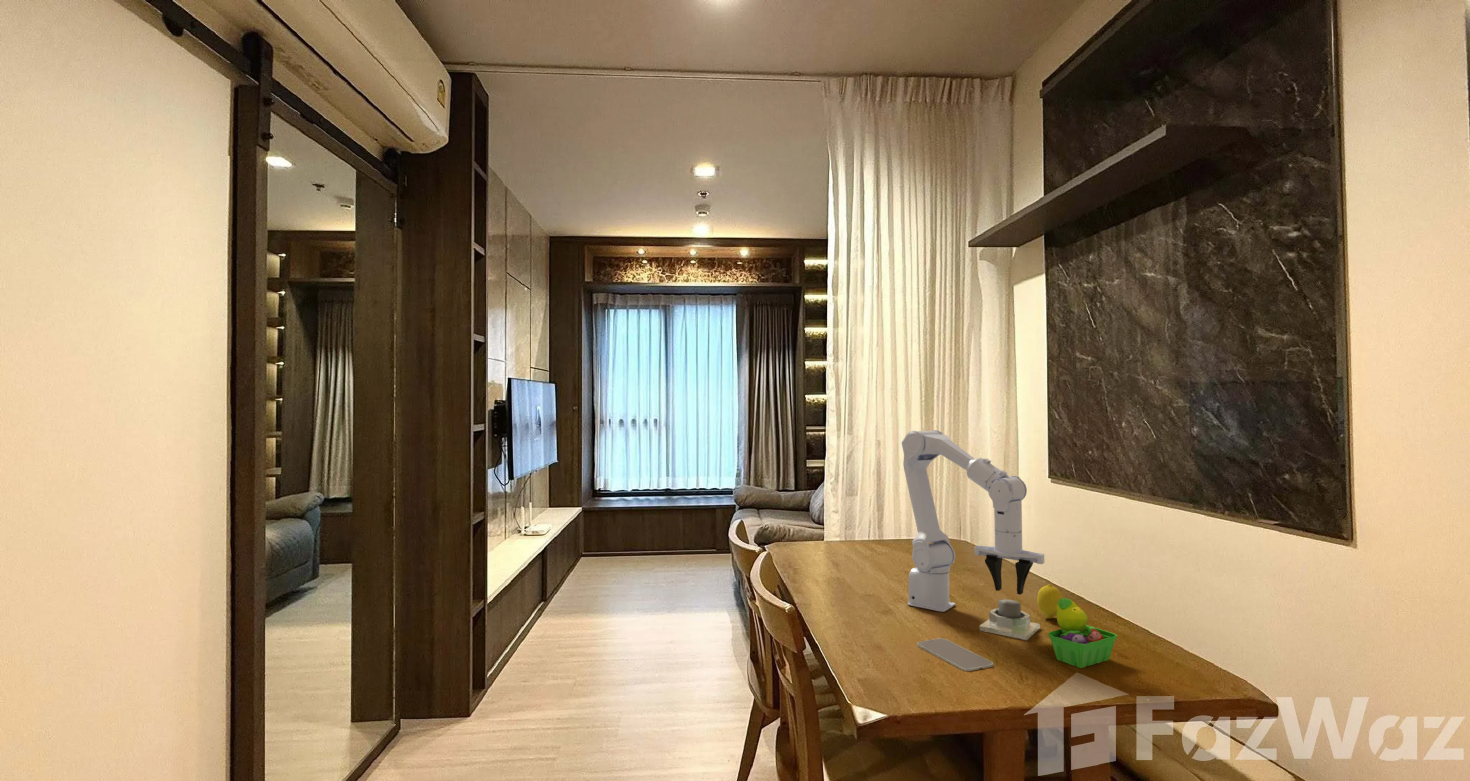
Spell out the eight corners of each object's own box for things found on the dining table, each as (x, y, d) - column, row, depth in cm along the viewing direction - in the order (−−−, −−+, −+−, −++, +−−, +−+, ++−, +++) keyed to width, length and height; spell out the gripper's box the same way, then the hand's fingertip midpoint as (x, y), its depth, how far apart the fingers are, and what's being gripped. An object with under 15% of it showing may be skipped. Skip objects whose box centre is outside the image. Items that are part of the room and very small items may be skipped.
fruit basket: (1082, 672, 121) (1081, 611, 121) (1041, 656, 128) (1040, 599, 129) (1119, 661, 126) (1118, 603, 126) (1077, 646, 134) (1076, 591, 134)
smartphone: (965, 669, 121) (914, 642, 135) (965, 674, 121) (914, 646, 135) (995, 663, 124) (943, 637, 138) (996, 668, 124) (943, 641, 137)
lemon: (1057, 615, 154) (1057, 581, 155) (1067, 622, 149) (1066, 587, 149) (1033, 614, 155) (1033, 580, 155) (1042, 621, 149) (1041, 586, 150)
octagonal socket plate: (979, 630, 144) (979, 614, 144) (994, 619, 151) (994, 604, 151) (1027, 640, 137) (1026, 623, 137) (1039, 628, 145) (1039, 612, 145)
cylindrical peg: (995, 625, 144) (995, 602, 144) (1002, 620, 148) (1002, 597, 148) (1017, 629, 141) (1016, 605, 141) (1023, 624, 145) (1023, 601, 145)
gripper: (969, 529, 147) (970, 589, 146) (1037, 537, 137) (1038, 601, 137) (980, 525, 152) (981, 583, 152) (1046, 532, 143) (1047, 594, 142)
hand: (1009, 591), depth 145 cm, fingers open, 4 cm apart
